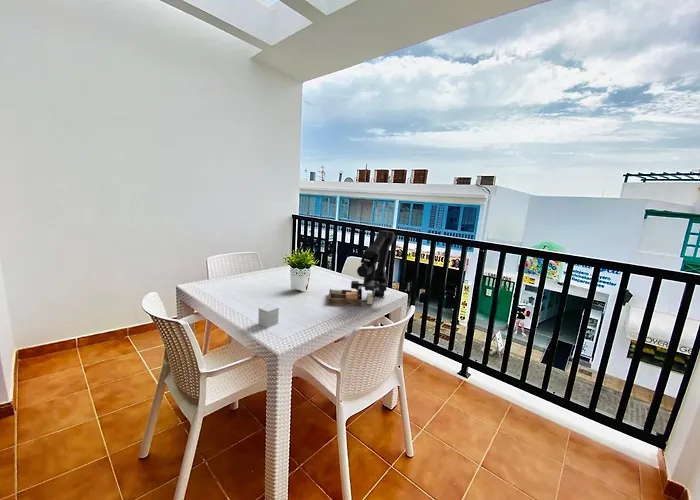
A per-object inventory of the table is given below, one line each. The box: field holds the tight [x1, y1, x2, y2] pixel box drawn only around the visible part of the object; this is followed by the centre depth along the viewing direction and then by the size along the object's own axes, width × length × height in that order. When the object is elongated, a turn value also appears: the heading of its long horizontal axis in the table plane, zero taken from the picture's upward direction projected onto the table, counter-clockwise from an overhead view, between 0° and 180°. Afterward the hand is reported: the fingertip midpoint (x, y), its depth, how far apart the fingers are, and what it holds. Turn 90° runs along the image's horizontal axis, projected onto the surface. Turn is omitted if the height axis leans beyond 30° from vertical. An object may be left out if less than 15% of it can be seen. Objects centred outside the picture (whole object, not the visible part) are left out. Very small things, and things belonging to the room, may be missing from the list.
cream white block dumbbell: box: [330, 286, 358, 294], centre depth 156 cm, size 14×6×4 cm, turn 91°
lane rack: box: [327, 288, 363, 307], centre depth 153 cm, size 18×16×3 cm
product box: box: [257, 303, 280, 329], centre depth 118 cm, size 6×6×7 cm
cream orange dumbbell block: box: [346, 292, 374, 305], centre depth 149 cm, size 14×6×4 cm, turn 91°
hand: (367, 300), depth 150 cm, fingers closed on cream orange dumbbell block, 6 cm apart
